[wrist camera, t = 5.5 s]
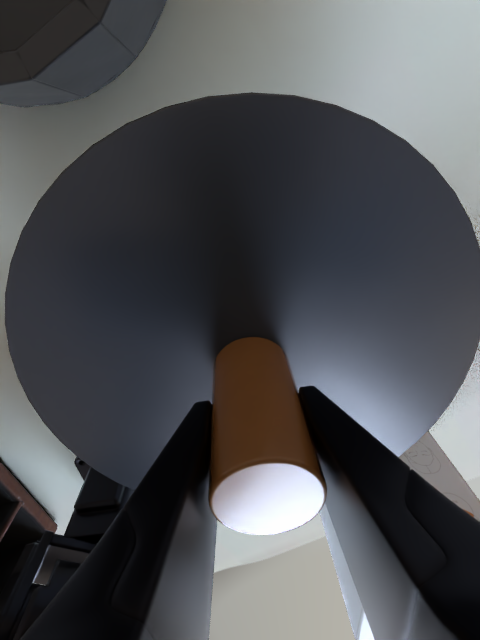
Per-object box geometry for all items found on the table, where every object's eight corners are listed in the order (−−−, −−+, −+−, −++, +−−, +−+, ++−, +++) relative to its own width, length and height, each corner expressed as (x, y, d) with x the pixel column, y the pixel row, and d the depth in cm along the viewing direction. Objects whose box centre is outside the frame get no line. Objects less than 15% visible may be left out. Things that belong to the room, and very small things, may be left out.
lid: (433, 462, 15) (539, 621, 10) (111, 506, 15) (57, 681, 10) (509, 51, 8) (976, -102, 3) (-77, 150, 8) (-512, 157, 3)
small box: (307, 473, 27) (352, 647, 18) (310, 422, 24) (364, 594, 15) (406, 465, 27) (502, 634, 18) (419, 413, 24) (540, 580, 15)
